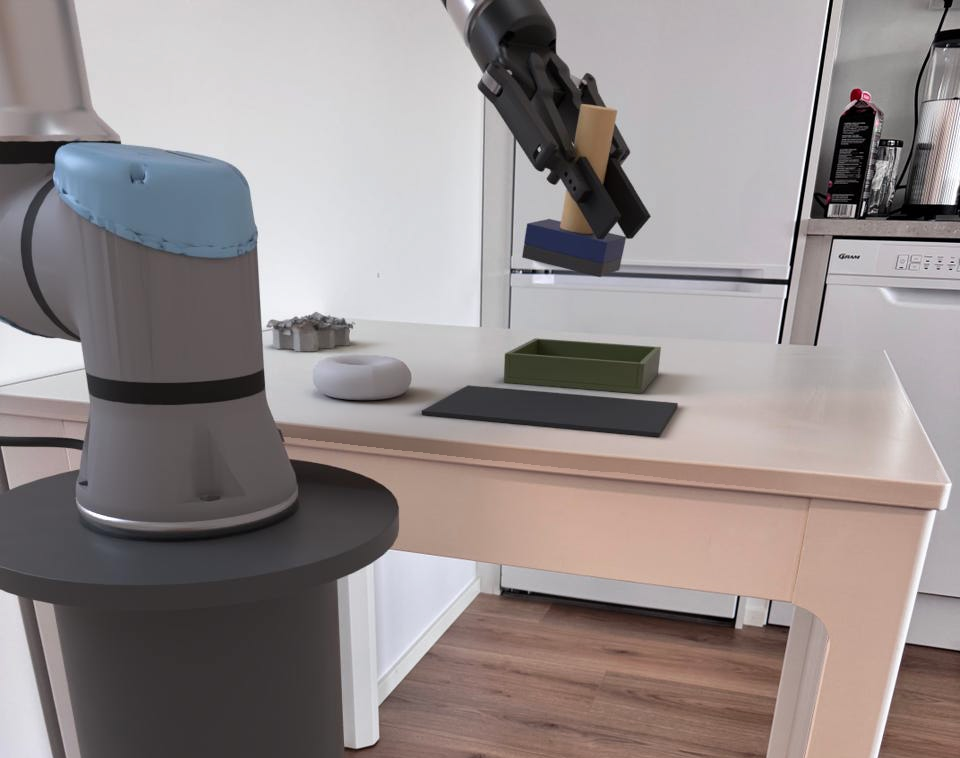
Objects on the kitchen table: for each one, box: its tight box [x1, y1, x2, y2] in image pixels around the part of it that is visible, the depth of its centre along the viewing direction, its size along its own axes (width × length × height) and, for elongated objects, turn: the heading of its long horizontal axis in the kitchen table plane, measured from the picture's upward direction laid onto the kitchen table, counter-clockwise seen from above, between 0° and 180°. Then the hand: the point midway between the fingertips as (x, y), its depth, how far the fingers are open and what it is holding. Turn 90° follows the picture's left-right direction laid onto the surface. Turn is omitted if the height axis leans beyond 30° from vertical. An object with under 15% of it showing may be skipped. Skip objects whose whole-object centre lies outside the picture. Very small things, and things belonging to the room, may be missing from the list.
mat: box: [421, 385, 679, 438], centre depth 91 cm, size 22×14×1 cm, turn 73°
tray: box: [503, 337, 662, 395], centre depth 107 cm, size 15×13×3 cm
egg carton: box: [266, 311, 356, 353], centre depth 124 cm, size 11×8×4 cm
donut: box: [311, 354, 413, 401], centre depth 96 cm, size 10×4×10 cm
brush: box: [521, 104, 627, 278], centre depth 85 cm, size 8×5×13 cm, turn 63°
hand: (624, 227), depth 83 cm, fingers closed on brush, 3 cm apart
